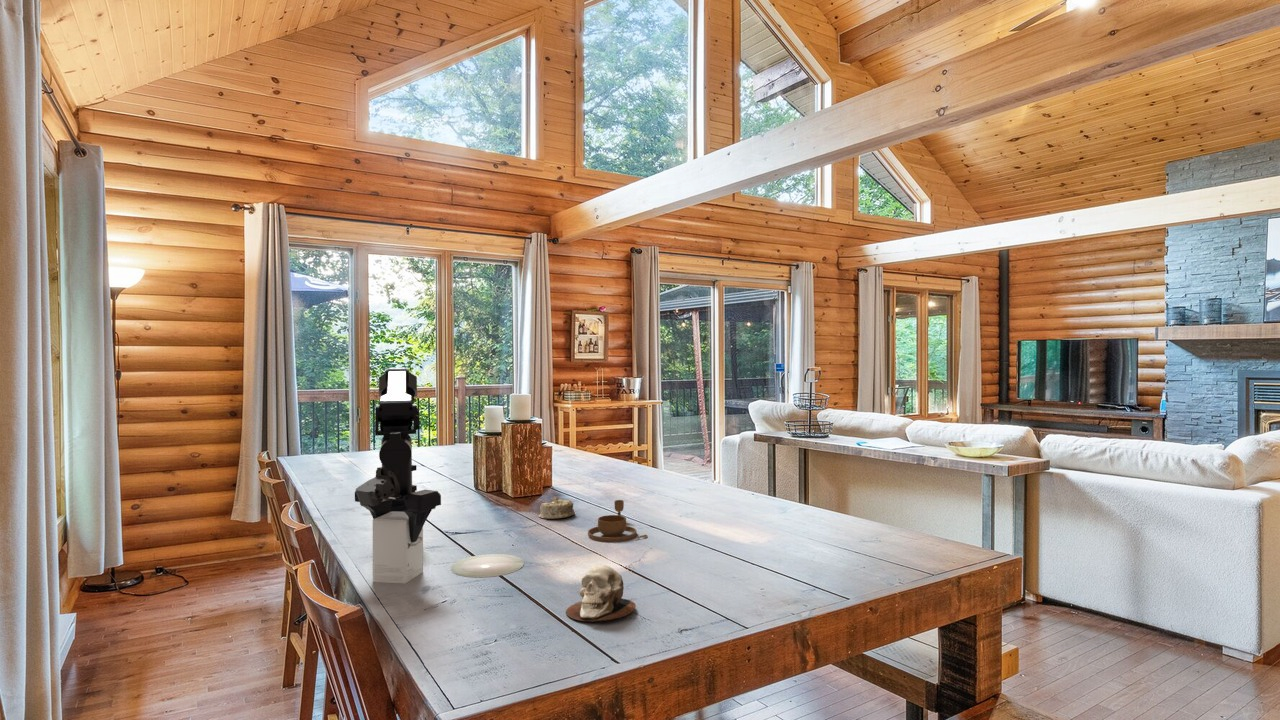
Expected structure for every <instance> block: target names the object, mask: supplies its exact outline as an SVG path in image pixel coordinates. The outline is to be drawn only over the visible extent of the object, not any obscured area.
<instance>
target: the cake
mask: <svg viewBox="0 0 1280 720" xmlns="http://www.w3.org/2000/svg"><path fill="white" fill-rule="evenodd" d="M539 508H540V511H539V512H540V514H538V517H539V518H542V519H553V520H554V519H562V518H563V519H564V518H569V517H571V516H574V515H575V510H574V503H573V502H572V501H571V500H566V499H559V497H557V496H554V497H553V501H551V502H543V503H541V504H540V507H539Z"/></svg>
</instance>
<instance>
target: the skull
mask: <svg viewBox="0 0 1280 720" xmlns="http://www.w3.org/2000/svg"><path fill="white" fill-rule="evenodd" d="M581 586H582V587H581V589H580V590H579V593H578V595H579V596H580V597H582V600H581V601H578V602H575V603H574V604H572V605H570V606H568V607H567V609H566V610H565V614H566V616H567V617H569V618H571V619H573V620H577V621H581V622H592V623H593V622H602V621H604V622H605V621H611V620H615V619H617V620H618V619H620V618H622V617H625V616H626V617H627V616H628V615H629V614H631V613H632V612H634V611H635V610H636V603H635V602H634V601H632V600H630V599H627V598H623V595H624V580H623V577H622V575H621V574H620V573H619V572H618V571H617V570H615V569H614V568H613V567H611V566H608V565H606V564H597V565H596V564H595V565H594V566H592V567H591V568H589V569H588V570H587V571H586V573H585V574H584V575H583V576H582V578H581Z"/></svg>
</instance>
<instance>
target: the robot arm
mask: <svg viewBox="0 0 1280 720" xmlns="http://www.w3.org/2000/svg"><path fill="white" fill-rule="evenodd" d="M378 396H379V402H378V404H375V414H374V415H375V416H374V418H375V419H374V420H375V421H374V422H375V423H374V426H375V427H374V436H376V437H377V436H383V437H382V438H381V439H380V440H381V444H380V445H381V446H380V449H379V452H378V457H379V458H378V459H379V461H380V463H381V466H379V467H376V470H375V477H373V478H371V479H368V480H366V481H365V482H363V483H362V484H360V485H359V486H358V487H356V488H355V491H354V502H356V503H357V502H358V503H359V505H360V506H361V507H364V508H365V509H366V510H368V511H369V512H370V514H371V516H372V520H373V519H375V518H378V517H380V516H382V515H385V514H387V513H389V512H392V511H393V512H405V513H406V514H407V516H408V517H409V529H410V539H411V542H416V541H417V539H418V536H419V534H420V532H421V530H422V528H423V529H424V525H425V523H426V521H427V520H428V518H429V516H430V515H431V512H432V510H435V509H436V507H439V506H441V505H442V494H441V493H440V492H439V491H438V490H431V489H423V490H418V485H416V484H413V472H414V471H417V465H416V464H413V458H412V457H413V456H412V452H413V451H412V450H413V449H412V448H413V446H412V445H413V444H412V442H413V441H412V439H413V438H412V437H411V435H416V434H417V430H420V409H419V408H418V405H417V404H416V403H415V398H418V377H417V375H415V374H413V373H411V372H410V369H409V368H406V367H388V368H386V369H385V373H384V374H382V375H380V376H379V377H378ZM379 429H380V430H379Z"/></svg>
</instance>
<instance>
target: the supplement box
mask: <svg viewBox="0 0 1280 720" xmlns="http://www.w3.org/2000/svg"><path fill="white" fill-rule="evenodd" d="M422 573H424V527H423V528H422V530H421V532H420V534H419V536H418V539H417V541H416V542H411V539H410V529H409V517H408V516H407V514H406V513H405V512H393V511H392V512H389V513H387V514H385V515H382V516H380V517H378V518H375V519H373V518H372V582H373V583H385V584H386V583H388V584H391V583H392V584H407V583H409V582H410V581H412V580H413V579H414V578H417V577H418V576H419V575H421V574H422Z"/></svg>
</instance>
